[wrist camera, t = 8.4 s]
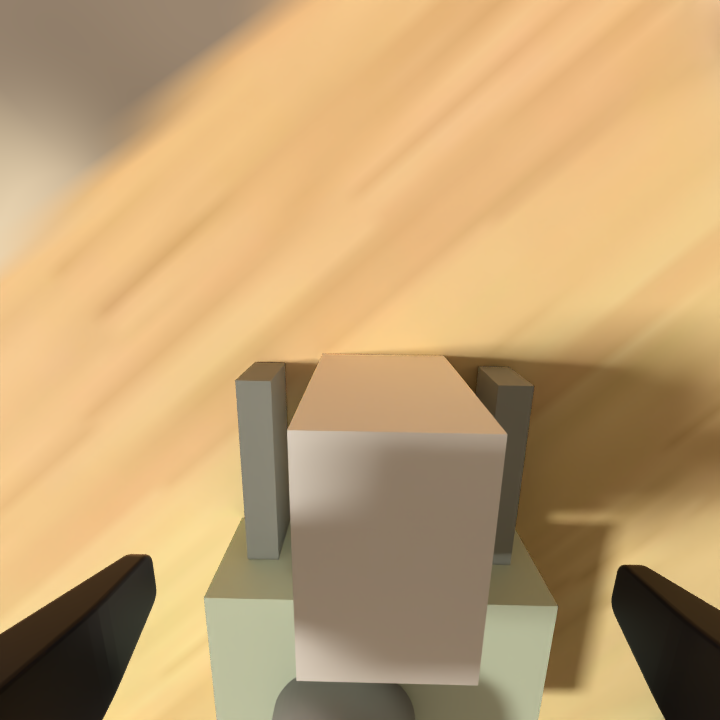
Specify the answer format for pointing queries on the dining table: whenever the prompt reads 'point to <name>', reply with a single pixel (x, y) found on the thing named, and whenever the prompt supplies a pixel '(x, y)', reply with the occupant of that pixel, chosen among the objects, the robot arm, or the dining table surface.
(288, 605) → the wall plug adapter
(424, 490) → the upright cream block
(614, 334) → the dining table surface
